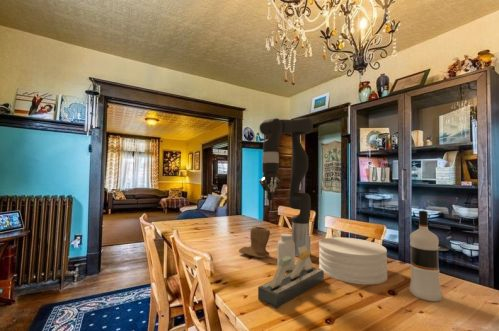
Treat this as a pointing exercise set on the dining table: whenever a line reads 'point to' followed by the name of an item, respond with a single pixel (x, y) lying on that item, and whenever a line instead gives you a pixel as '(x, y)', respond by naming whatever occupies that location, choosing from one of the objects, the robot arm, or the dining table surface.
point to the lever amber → (300, 264)
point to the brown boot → (257, 242)
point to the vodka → (424, 262)
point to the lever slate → (303, 248)
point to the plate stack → (353, 260)
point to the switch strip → (290, 287)
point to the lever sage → (280, 271)
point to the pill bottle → (286, 250)
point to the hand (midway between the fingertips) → (270, 200)
